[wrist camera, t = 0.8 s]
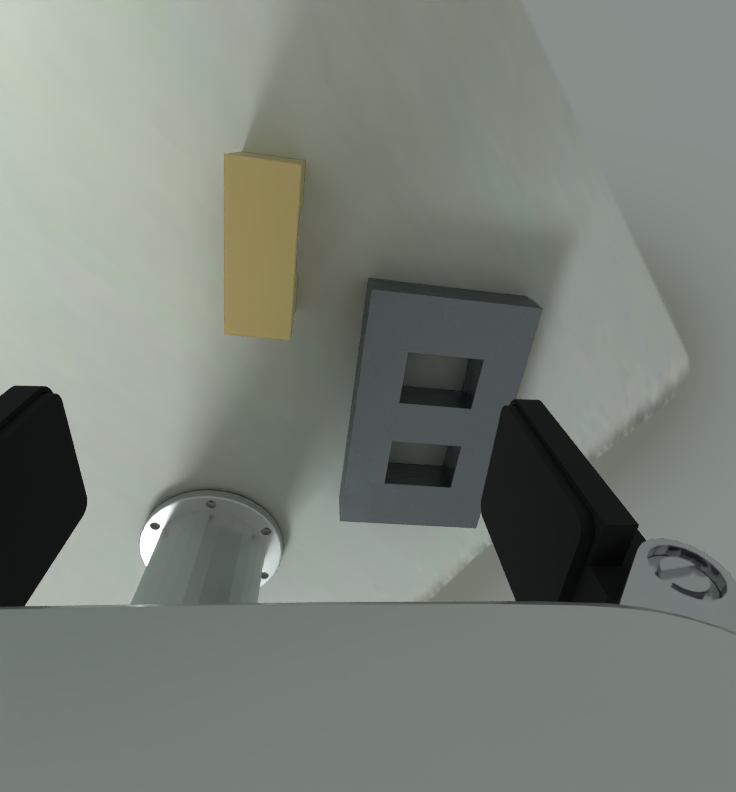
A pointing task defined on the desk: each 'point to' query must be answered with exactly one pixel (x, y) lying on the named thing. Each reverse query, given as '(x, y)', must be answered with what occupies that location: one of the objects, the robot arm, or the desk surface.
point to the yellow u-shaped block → (261, 243)
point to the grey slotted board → (430, 400)
